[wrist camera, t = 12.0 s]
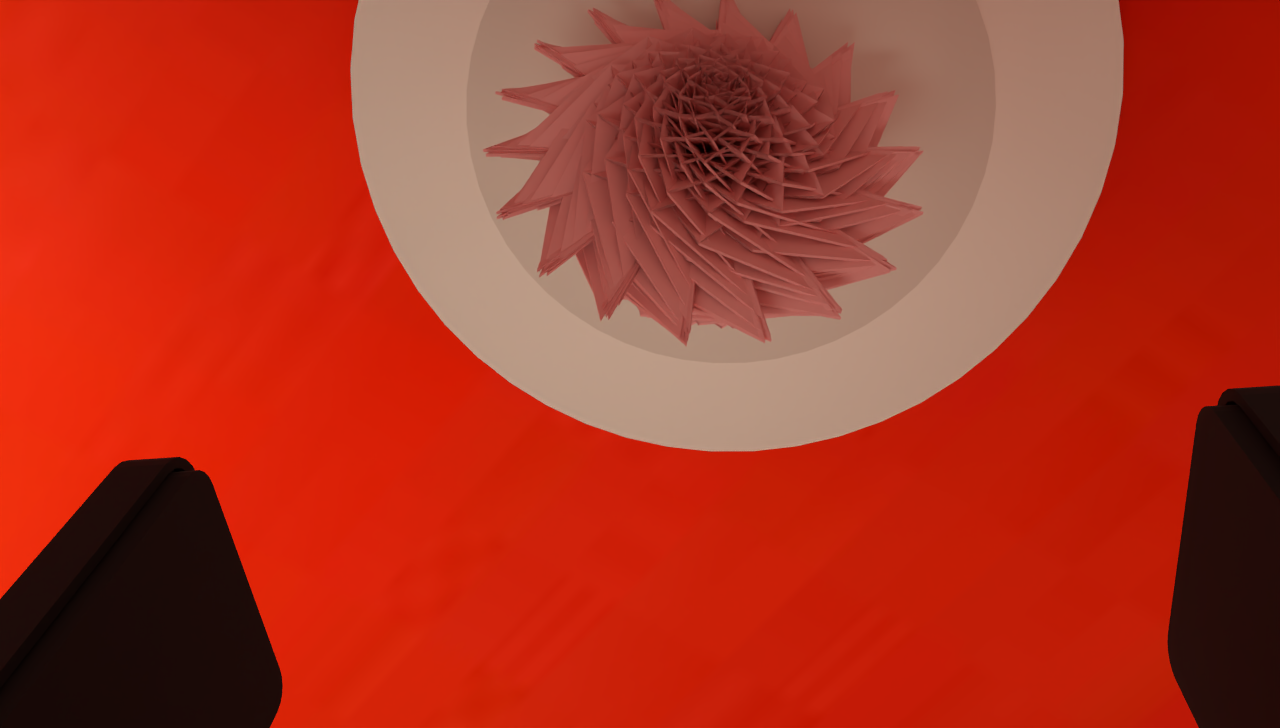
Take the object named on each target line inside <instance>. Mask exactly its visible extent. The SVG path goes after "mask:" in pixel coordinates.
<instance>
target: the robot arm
mask: <svg viewBox="0 0 1280 728" xmlns="http://www.w3.org/2000/svg"><path fill="white" fill-rule="evenodd" d="M1168 653H1169V659H1170V664H1171V667H1172V671H1173V674H1174V676H1175V679H1176V681H1177V683H1178V685H1179V687H1180V689H1181V691H1182V694H1183V696H1184V698H1185V700H1186V702H1187V704H1188V706H1189V708H1190V710H1191V712H1192V714H1193V716H1194V718H1195V720H1196V723H1197V725H1198V727H1199V728H1280V386H1265V387H1250V388H1234V389H1227V390H1226V391H1225V392H1223V393H1222V395H1221V397H1220V399H1219V401H1218V405H1217V406H1206V407H1204V408H1202V409H1201V411H1200V413H1199V415H1198V419H1197V423H1196V430H1195V438H1194V445H1193V453H1192V460H1191V467H1190V475H1189V482H1188V490H1187V497H1186V504H1185V512H1184V519H1183V527H1182V534H1181V542H1180V549H1179V556H1178V564H1177V571H1176V579H1175V586H1174V593H1173V601H1172V608H1171V616H1170V623H1169V630H1168ZM281 697H282V676H281V672H280V668H279V665H278V663H277V660H276V657H275V654H274V652H273V649H272V646H271V643H270V641H269V638H268V635H267V632H266V630H265V627H264V624H263V621H262V619H261V616H260V613H259V610H258V608H257V605H256V602H255V599H254V597H253V594H252V591H251V588H250V586H249V583H248V580H247V577H246V575H245V572H244V569H243V566H242V564H241V561H240V558H239V555H238V553H237V550H236V547H235V544H234V542H233V539H232V536H231V533H230V531H229V528H228V525H227V522H226V520H225V517H224V514H223V511H222V509H221V506H220V503H219V500H218V498H217V495H216V492H215V489H214V487H213V484H212V482H211V480H210V478H209V476H208V475H207V474H206V473H205V472H203V471H200V470H196V471H195V470H194V468H193V466H192V465H191V464H190V463H189V462H188V461H187V460H186V459H183V458H181V457H173V458H158V459H142V460H129V461H124V462H121V463H120V464H118V465H117V466H116V467H115V468H114V469H113V470H112V471H111V472H110V473H109V474H108V476H107V477H106V478H105V479H104V480H103V481H102V482H101V484H100V485H99V486H98V487H97V488H96V489H95V491H94V492H93V493H92V494H91V495H90V496H89V497H88V499H87V500H86V501H85V502H84V503H83V504H82V506H81V507H80V508H79V509H78V510H77V511H76V512H75V514H74V515H73V516H72V517H71V518H70V519H69V521H68V522H67V523H66V524H65V525H64V526H63V527H62V529H61V530H60V531H59V532H58V533H57V534H56V536H55V537H54V538H53V539H52V540H51V541H50V542H49V544H48V545H47V546H46V547H45V548H44V549H43V550H42V552H41V553H40V554H39V555H38V556H37V557H36V559H35V560H34V561H33V562H32V563H31V564H30V565H29V567H28V568H27V569H26V570H25V571H24V572H23V574H22V575H21V576H20V577H19V578H18V579H17V580H16V582H15V583H14V584H13V585H12V586H11V587H10V589H9V590H8V591H7V592H6V593H5V594H4V595H3V597H2V598H1V599H0V728H270V726H271V724H272V722H273V720H274V718H275V715H276V713H277V711H278V708H279V706H280V702H281Z"/></svg>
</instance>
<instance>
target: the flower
mask: <svg viewBox="0 0 1280 728" xmlns="http://www.w3.org/2000/svg"><path fill="white" fill-rule="evenodd" d="M653 1H654V4H655V7H656V9H657V12H658V15H659V18H660V21H661V24H662V27H663V29H654V28H644V27H634V26H628V25H626V24H624V23H621V22H619V21H617V20H615V19H613V18H612V17H610V16H608V15H606V14H604V13H602V12H601V11H599V10H597V9H595V8H593V11H594V12H593V11H591V10H589V9H588V13H589V15H590V16H591V17H592V18H593V19H594V21H595V23H594V24H595V25H596V26H597V27H598V28H599V29H600V30H601V32H602V33H603V34H604V35H605V36H606V37H607V39H608V40H609V41H610V42H611V43H612V44H603V45H587V46H570V47H561V46H556V45H552V44H547V43H544V42H542V41H539V40H537V43H539V44H540V45H539V44H536V43H534V46H536V47H534V49H535V50H536V51H538V52H539V53H541V54H543V55H544V56H546V57H548V58H549V59H551V60H553V61H554V62H556V63H558V64H559V65H561V66H562V69H564V70H565V71H567V72H568V73H569V74H571V75H572V76H574V77H575V78H571V79H566V80H561V81H556V82H551V83H547V84H541V85H535V86H529V87H523V88H506V89H502V92H498V91H495V93H496V94H497V95H500V96H503V97H502V100H504V101H508V102H512V103H515V104H519V105H523V106H527V107H531V108H535V109H539V110H542V111H545V112H547V113H548V114H550V115H549V116H548V117H547V118H546V119H545V120H544V121H543V122H542V123H541V124H539V125H538V126H537V127H536V128H534V129H533V130H531V131H530V132H528V133H526V134H524V135H522V136H519V137H516V138H513V139H510V140H508V141H505V142H502V143H499V144H497V145H494V146H491V147H488V148H485V149H483V152H489V153H487V154H486V157H501V158H516V159H527V160H539V161H540V162H539V164H538V165H537V167H536V168H535V170H534V171H533V173H532V174H531V176H530V177H529V179H528V180H527V182H526V183H525V185H524V186H523V188H522V189H521V190H520V191H519V192H518V193H517V194H516V195H515V196H514V197H513V198H512V199H510V200H509V201H508V202H507V203H506V204H505V205H504V206H503V207H502V208H501V209H500V210H499V211H497V212H496V214H500V213H501V214H500V215H498V216H497V219H500V218H502V219H503V220H504V219H507V218H510V217H513V216H516V215H519V214H522V213H525V212H528V211H531V210H535V209H537V211H538V210H541V209H545V208H548V207H550V209H549V215H548V220H547V226H546V231H545V237H544V243H543V248H542V254H541V260H540V263H539V266H538V268H537V272H538V271H540V270H541V269H542V271H541V273H540V275H539V278H540V277H541V276H542V275H544V274H545V273H546V272H547V276H548V275H549V274H551V273H552V272H553V271H554V270H556V269H557V268H558V267H560V266H561V265H562V264H563V263H565V262H566V261H567V260H569V259H570V258H571V257H572V256H574V255H575V256H576V258H577V260H578V262H579V264H580V266H581V268H582V270H583V273H584V275H585V277H586V279H587V281H588V283H589V285H590V287H591V290H592V292H593V294H594V297H595V301H596V305H597V309H598V313H599V318H600V322H601V320H602V319H603V317H604V315H605V314H606V317H607V316H608V320H609V319H610V317H611V316H612V314H613V312H614V311H615V309H616V307H617V305H618V306H619V305H620V303H621V302H622V300H629V301H630V302H631V303H633V304H634V305H635V306H637V308H638V310H639V313H640V316H641V317H647V318H652V319H654V320H655V321H656V322H658V323H659V324H660V325H661V326H663V327H664V328H665V329H667V330H668V331H669V332H671V333H672V334H673V335H674V336H675V337H676V338H677V339H679V340H680V341H681V342H682V343H683V344H684V345H685V346H687V340H688V339H689V333H690V332H691V326H692V325H694V324H696V323H697V324H698V325H708V324H715V325H717V326H718V327H720V328H721V329H722V328H724V327H726V326H730V327H731V328H733V329H734V328H735V329H737V330H739V331H741V332H743V333H745V334H747V335H749V336H751V337H753V338H755V339H757V340H759V341H761V342H763V343H765V340H767V341H770V342H771V341H772V339H771V334H770V331H769V328H768V326H767V323H766V320H765V319H766V318H776V317H786V316H822V317H827V318H833V319H838V320H840V319H841V317H840V315H839V314H838V313H840V314H841V312H842V308H841V307H840V306H839V305H838V303H837V302H836V301H835V300H834V299H833V297H832V296H831V295H830V293H829V292H828V291H827V290H829V289H833V288H836V287H840V286H843V285H847V284H851V283H854V282H858V281H861V280H865V279H869V278H872V277H876V276H880V275H883V274H887V273H890V271H894V270H896V269H897V268H896V267H895V266H893V265H892V264H890V263H888V262H887V260H888V259H886V258H884V256H882V255H881V254H879V253H877V252H876V251H874V250H872V249H871V248H869V247H867V246H866V245H864V243H866V242H868V241H870V240H872V239H874V238H876V237H878V236H880V235H882V234H884V233H886V232H888V231H890V230H892V229H894V228H896V227H898V226H900V225H902V224H904V223H906V222H909V221H911V220H913V219H915V218H917V217H919V216H921V215H923V213H924V212H922V211H919V210H921V208H922V207H921V206H917V205H913V204H909V203H906V202H902V201H898V200H894V199H890V198H887V197H884V196H885V195H886V194H887V193H888V191H889V190H890V189H891V188H892V187H893V186H894V185H895V183H896V182H897V181H898V180H899V179H900V178H901V177H902V175H903V174H904V173H905V172H906V171H907V170H908V169H909V167H910V166H911V165H912V164H913V163H914V162H915V161H916V159H917V158H918V157H919V156H920V155H921V154H922V153H923V151H918V150H919V149H920V147H917V146H909V147H903V146H888V147H877V146H878V144H879V141H880V139H881V136H882V134H883V132H884V129H885V127H886V125H887V122H888V120H889V117H890V115H891V113H892V110H893V108H894V106H895V103H896V101H897V98H898V96H899V95H894V93H895V90H894V91H891V92H888V91H886V92H883V93H878V94H875V95H872V96H869V97H866V98H863V99H860V100H857V101H854V102H851V65H852V58H853V51H854V43H855V42H854V43H853V44H852V45H850V46H849V47H847V46H848V42H847V43H846V44H844V45H843V46H842V47H841V48H839V49H838V50H837V51H835V52H834V53H833V54H831V55H830V56H829V57H828V58H826V59H825V60H824V61H822V62H821V63H820V64H818V65H817V66H816V67H815V68H813V69H812V68H810V66H809V62H808V58H807V54H806V50H805V46H804V42H803V38H802V34H801V29H800V25H799V21H798V17H797V13H795V15H794V13H793V9H792V11H790V9H789V10H788V12H787V14H786V15H785V17H784V19H783V21H782V20H781V22H780V23H779V25H778V27H777V29H776V30H775V32H774V34H773V36H772V37H771V39H770V41H768V40H767V39H766V38H765V37H764V36H763V35H762V34H761V33H760V32H759V31H758V30H757V29H756V28H755V27H754V26H753V25H751V24H750V23H749V22H748V21H747V20H746V19H745V18H744V17H743V16H742V15H741V13H740V11H739V9H738V7H737V5H736V3H735V1H734V0H720V8H719V19H718V22H717V20H716V30H710V29H708V28H707V27H705V26H704V25H703V24H701V23H700V22H698V21H697V20H695V19H694V18H693V17H691V16H690V15H688V14H687V13H685V12H684V11H683V10H681V9H680V8H679V7H678V6H676V5H675V4H674V3H673V2H672V1H670V0H653ZM541 45H542V46H541ZM887 92H888V93H887ZM893 95H894V96H893Z"/></svg>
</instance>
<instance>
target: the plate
mask: <svg viewBox="0 0 1280 728" xmlns="http://www.w3.org/2000/svg"><path fill="white" fill-rule="evenodd" d="M670 1H672V2H673V3H674V4H675V5H676V6H678V7H679V8H680V9H681V10H683V11H684V12H685V13H687V14H688V15H690V16H691V17H693V18H694V19H695V20H697V21H698V22H700V23H701V24H703V25H704V26H705V27H707V28H708V29H710V30H716V20H717V22H718V19H719V8H720V0H670ZM734 1H735V3H736V5H737V7H738V9H739V11H740V13H741V15H742V16H743V17H744V18H745V19H746V20H747V21H748V22H749V23H750V24H751V25H753V26H754V27H755V28H756V29H757V30H758V31H759V32H760V33H761V34H762V35H763V36H764V37H765V38H766V39H767V40H768V41H770V39H771V37H772V36H773V34H774V32H775V30H776V29H777V27H778V25H779V23H780V22H781V20H782V21H783V19H784V17H785V15H786V14H787V12H788V10H789V9H790V11H792V9H793V13H794V15H795V13H797V17H798V21H799V25H800V29H801V34H802V38H803V42H804V46H805V50H806V54H807V58H808V62H809V66H810V68H812V69H813V68H815V67H816V66H817V65H818V64H820V63H821V62H822V61H824V60H825V59H826V58H828V57H829V56H830V55H831V54H833V53H834V52H835V51H837V50H838V49H839V48H841V47H842V46H843V45H844V44H846V43H847V42H848V46H847V47H849V46H850V45H852V44H853V43H854V42H855V43H854V51H853V58H852V65H851V102H854V101H857V100H860V99H863V98H866V97H869V96H872V95H875V94H878V93H883V92H886V91H888V92H891V91H894V90H895V93H894V95H899V96H898V98H897V101H896V103H895V106H894V108H893V110H892V113H891V115H890V117H889V120H888V122H887V125H886V127H885V129H884V132H883V134H882V136H881V139H880V141H879V144H878V146H877V147H888V146H903V147H909V146H917V147H920V149H919V150H918V151H923V153H922V154H921V155H920V156H919V157H918V158H917V159H916V161H915V162H914V163H913V164H912V165H911V166H910V167H909V169H908V170H907V171H906V172H905V173H904V174H903V175H902V177H901V178H900V179H899V180H898V181H897V182H896V183H895V185H894V186H893V187H892V188H891V189H890V190H889V191H888V193H887V194H886V195H885V196H884V197H887V198H890V199H894V200H898V201H902V202H906V203H909V204H913V205H917V206H921V207H922V208H921V210H919V211H922V212H924V213H923V215H921V216H919V217H917V218H915V219H913V220H911V221H909V222H906V223H904V224H902V225H900V226H898V227H896V228H894V229H892V230H890V231H888V232H886V233H884V234H882V235H880V236H878V237H876V238H874V239H872V240H870V241H868V242H866V243H864V245H866V246H867V247H869V248H871V249H872V250H874V251H876V252H877V253H879V254H881V255H882V256H884V258H886V259H888V260H887V262H888V263H890V264H892V265H893V266H895V267H896V268H897V269H896V270H894V271H890V273H887V274H883V275H880V276H876V277H872V278H869V279H865V280H861V281H858V282H854V283H851V284H847V285H843V286H840V287H836V288H833V289H829V290H827V291H828V292H829V293H830V295H831V296H832V297H833V299H834V300H835V301H836V302H837V303H838V305H839V306H840V307H841V308H842V312H841V314H840V313H838V314H839V315H840V317H841V319H840V320H838V319H833V318H827V317H822V316H786V317H776V318H766V319H765V320H766V323H767V326H768V328H769V331H770V334H771V339H772V341H771V342H770V341H767V340H765V343H763V342H761V341H759V340H757V339H755V338H753V337H751V336H749V335H747V334H745V333H743V332H741V331H739V330H737V329H735V328H734V329H733V328H731V327H730V326H726V327H724V328H722V329H721V328H720V327H718V326H717V325H715V324H708V325H698V324H697V323H696V324H694V325H692V326H691V332H690V333H689V339H688V340H687V346H685V345H684V344H683V343H682V342H681V341H680V340H679V339H677V338H676V337H675V336H674V335H673V334H672V333H671V332H669V331H668V330H667V329H665V328H664V327H663V326H661V325H660V324H659V323H658V322H656V321H655V320H654V319H652V318H647V317H641V316H640V313H639V310H638V308H637V306H635V305H634V304H633V303H631V302H630V301H629V300H622V302H621V303H620V305H619V306H618V305H617V307H616V309H615V311H614V312H613V314H612V316H611V317H610V319H609V320H608V316H607V317H606V314H605V315H604V317H603V319H602V320H601V322H600V318H599V313H598V309H597V305H596V301H595V297H594V294H593V292H592V290H591V287H590V285H589V283H588V281H587V279H586V277H585V275H584V273H583V270H582V268H581V266H580V264H579V262H578V260H577V258H576V256H575V255H574V256H572V257H571V258H570V259H569V260H567V261H566V262H565V263H563V264H562V265H561V266H560V267H558V268H557V269H556V270H554V271H553V272H552V273H551V274H549V275H548V276H547V272H546V273H545V274H544V275H542V276H541V277H540V278H539V275H540V273H541V271H542V269H541V270H540V271H538V272H537V268H538V266H539V263H540V260H541V254H542V248H543V243H544V237H545V231H546V226H547V220H548V215H549V209H550V207H548V208H545V209H541V210H538V211H537V209H535V210H531V211H528V212H525V213H522V214H519V215H516V216H513V217H510V218H507V219H504V220H503V219H502V218H500V219H497V216H498V215H500V214H501V213H500V214H496V212H497V211H499V210H500V209H501V208H502V207H503V206H504V205H505V204H506V203H507V202H508V201H509V200H510V199H512V198H513V197H514V196H515V195H516V194H517V193H518V192H519V191H520V190H521V189H522V188H523V186H524V185H525V183H526V182H527V180H528V179H529V177H530V176H531V174H532V173H533V171H534V170H535V168H536V167H537V165H538V164H539V162H540V161H539V160H527V159H516V158H501V157H486V154H487V153H489V152H483V149H485V148H488V147H491V146H494V145H497V144H499V143H502V142H505V141H508V140H510V139H513V138H516V137H519V136H522V135H524V134H526V133H528V132H530V131H531V130H533V129H534V128H536V127H537V126H538V125H539V124H541V123H542V122H543V121H544V120H545V119H546V118H547V117H548V116H549V115H550V114H548V113H547V112H545V111H542V110H539V109H535V108H531V107H527V106H523V105H519V104H515V103H512V102H508V101H504V100H502V97H503V96H500V95H497V94H496V93H495V91H498V92H502V89H506V88H523V87H529V86H535V85H541V84H547V83H551V82H556V81H561V80H566V79H571V78H575V77H574V76H572V75H571V74H569V73H568V72H567V71H565V70H564V69H562V66H561V65H559V64H558V63H556V62H554V61H553V60H551V59H549V58H548V57H546V56H544V55H543V54H541V53H539V52H538V51H536V50H535V49H534V47H536V46H534V43H536V44H539V43H537V40H539V41H542V42H544V43H547V44H552V45H556V46H561V47H570V46H587V45H603V44H612V43H611V42H610V41H609V40H608V39H607V37H606V36H605V35H604V34H603V33H602V32H601V30H600V29H599V28H598V27H597V26H596V25H595V24H594V23H595V21H594V19H593V18H592V17H591V16H590V15H589V13H588V9H589V10H591V11H593V8H595V9H597V10H599V11H601V12H602V13H604V14H606V15H608V16H610V17H612V18H613V19H615V20H617V21H619V22H621V23H624V24H626V25H628V26H634V27H644V28H654V29H663V27H662V24H661V21H660V18H659V15H658V12H657V9H656V7H655V4H654V1H653V0H359V2H358V6H357V11H356V15H355V21H354V33H353V45H352V57H351V90H352V110H353V122H354V127H355V133H356V138H357V144H358V150H359V155H360V161H361V166H362V169H363V172H364V175H365V179H366V182H367V185H368V188H369V192H370V195H371V198H372V201H373V204H374V208H375V210H376V213H377V215H378V217H379V219H380V221H381V224H382V226H383V228H384V230H385V232H386V235H387V237H388V239H389V241H390V243H391V246H392V248H393V250H394V252H395V254H396V255H397V257H398V259H399V260H400V262H401V264H402V265H403V267H404V268H405V270H406V272H407V273H408V275H409V277H410V278H411V280H412V282H413V283H414V285H415V286H416V288H417V290H418V291H419V292H420V294H421V295H422V296H423V297H424V299H425V300H426V301H427V302H428V304H429V305H430V306H431V308H432V309H433V310H434V311H435V313H436V314H437V315H438V316H439V318H440V319H441V320H442V321H443V323H444V324H445V325H446V326H447V327H448V328H449V329H450V330H451V331H452V332H453V333H454V334H455V335H456V336H457V337H458V338H459V339H460V340H461V341H462V342H463V343H464V344H465V345H466V346H467V347H468V348H469V349H470V350H471V351H472V352H473V353H474V354H475V355H476V356H477V357H478V358H480V359H481V360H482V361H483V362H485V363H486V364H487V365H488V366H490V367H491V368H492V369H494V370H495V371H496V372H497V373H499V374H500V375H501V376H502V377H504V378H505V379H506V380H507V381H509V382H510V383H512V384H513V385H515V386H516V387H518V388H520V389H521V390H523V391H524V392H526V393H528V394H529V395H531V396H533V397H534V398H536V399H537V400H539V401H541V402H542V403H544V404H545V405H547V406H549V407H551V408H554V409H556V410H558V411H560V412H562V413H564V414H566V415H568V416H570V417H573V418H575V419H577V420H579V421H581V422H583V423H585V424H588V425H591V426H594V427H597V428H600V429H603V430H606V431H609V432H612V433H615V434H617V435H620V436H623V437H626V438H631V439H635V440H640V441H645V442H649V443H654V444H658V445H663V446H667V447H676V448H685V449H694V450H704V451H758V450H767V449H776V448H785V447H793V446H799V445H804V444H808V443H812V442H817V441H821V440H826V439H830V438H834V437H839V436H842V435H845V434H847V433H850V432H853V431H856V430H859V429H862V428H865V427H868V426H870V425H873V424H876V423H879V422H882V421H884V420H886V419H888V418H890V417H892V416H894V415H896V414H898V413H900V412H902V411H904V410H907V409H909V408H911V407H913V406H915V405H917V404H919V403H921V402H923V401H924V400H926V399H927V398H929V397H931V396H932V395H934V394H935V393H937V392H939V391H940V390H942V389H943V388H945V387H947V386H948V385H950V384H951V383H953V382H955V381H956V380H958V379H959V378H961V377H962V376H963V375H964V374H966V373H967V372H968V371H969V370H971V369H972V368H973V367H974V366H976V365H977V364H978V363H979V362H981V361H982V360H983V359H984V358H986V357H987V356H988V355H989V354H990V353H992V352H993V351H994V350H995V349H996V348H997V347H998V346H999V345H1000V344H1001V343H1002V342H1003V341H1004V340H1005V339H1006V338H1007V337H1008V336H1009V335H1010V334H1011V333H1012V332H1013V331H1014V330H1015V329H1016V328H1017V327H1018V326H1019V325H1020V324H1021V323H1022V322H1023V321H1024V320H1025V319H1026V318H1027V317H1028V316H1029V314H1030V313H1031V312H1032V311H1033V309H1034V308H1035V307H1036V305H1037V304H1038V303H1039V301H1040V300H1041V299H1042V298H1043V296H1044V295H1045V294H1046V292H1047V291H1048V290H1049V289H1050V287H1051V286H1052V285H1053V283H1054V282H1055V281H1056V280H1057V278H1058V276H1059V275H1060V273H1061V271H1062V270H1063V268H1064V266H1065V265H1066V263H1067V261H1068V259H1069V258H1070V256H1071V254H1072V253H1073V251H1074V249H1075V248H1076V246H1077V244H1078V243H1079V241H1080V239H1081V238H1082V235H1083V233H1084V231H1085V229H1086V226H1087V224H1088V222H1089V219H1090V217H1091V215H1092V212H1093V210H1094V208H1095V206H1096V203H1097V201H1098V199H1099V196H1100V194H1101V192H1102V188H1103V185H1104V181H1105V178H1106V174H1107V171H1108V167H1109V164H1110V160H1111V157H1112V154H1113V150H1114V147H1115V143H1116V136H1117V129H1118V123H1119V116H1120V109H1121V103H1122V96H1123V52H1124V40H1123V32H1122V24H1121V16H1120V8H1119V0H734ZM593 12H594V11H593ZM539 45H540V44H539ZM541 46H542V45H541ZM888 92H887V93H888ZM894 95H893V96H894Z"/></svg>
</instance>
